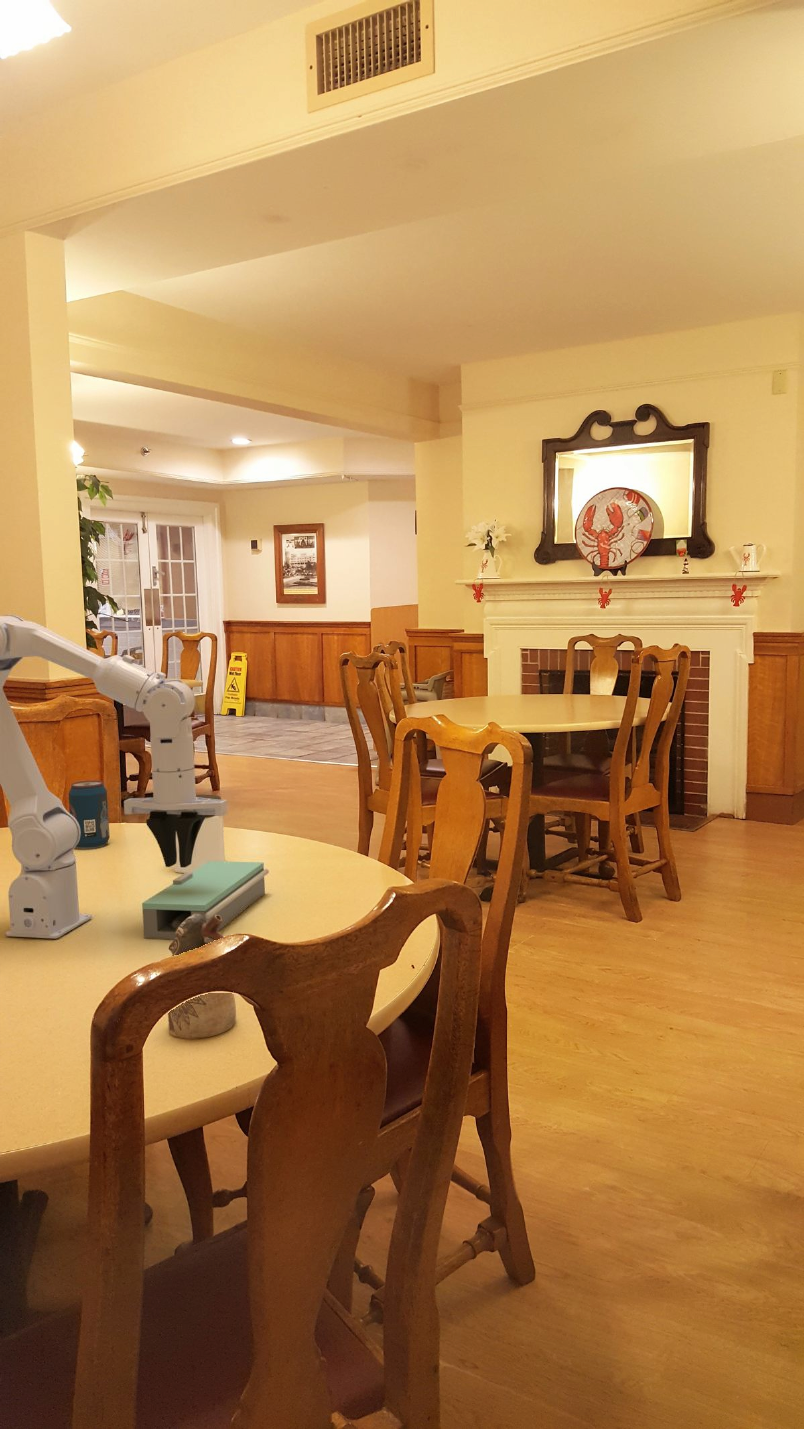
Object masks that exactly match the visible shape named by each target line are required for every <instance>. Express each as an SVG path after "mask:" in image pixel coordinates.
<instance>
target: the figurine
mask: <svg viewBox="0 0 804 1429" xmlns="http://www.w3.org/2000/svg"><path fill="white" fill-rule="evenodd" d="M221 922H222V919H221V917H220V916H219V915H215V916H214V917H213V918H212V919H211V920H210V921H209V922H208V923H207V922H206V920H205V918H204V917H203V916H202V915H201V914H194V915H192V916H190V917H188V918H187V919H186V920H185V921H184V922H183V923H182V924H181V925H180V926H179V927H178V928H177V930H176V933H175V939H174V940H173V941H172V942H170V944H169V946H168V950H169V951H170V953H171V957H172V956H174V955H179V954H181V953H183V952H187V951H189V950H193V949H195V948H199V947H201V946H203V945H205V944H208V943H210V942H213V941H214V940H218V939H220V938H224V939H225V937H224V935H223V934H222V933H221V932H220V931H217V929H218V927H219V926H220V924H221ZM167 1016H168V1020H167V1021H168V1031H169V1033H170V1036H173V1037H175V1038H180V1039H186V1040H191V1039H192V1040H193V1039H203V1038H209V1037H214V1036H218V1035H220V1034H223V1033H226V1031H229V1030H230V1029H232V1027H233V1026H234V1024H235V1022H236V1017H237V1006H236V998H235V993H234V994H232V993H208V994H205V995H200V996H198V997H195V998H193V999H190V1000H188V1001H186V1002H185V1003H182V1004H181V1005H179V1006H178V1007H176V1008H175V1009H173V1010H171V1011H170V1012H169V1013H168V1012H167Z"/></svg>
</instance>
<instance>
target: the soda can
mask: <svg viewBox="0 0 804 1429" xmlns="http://www.w3.org/2000/svg"><path fill="white" fill-rule="evenodd" d="M70 786H71V787H70V788H69V791H68V808H69V811H68V813H70V814H71V815H72V816H73V817H74V818H75V819H76V820H77V822H78V824H79V826H80V831H81V834H80V840H79V842H78V844H77V845H76V846H75V847H74V848H76V849H78V850H91V849H92V850H93V849H100V848H103V847H106V845H107V844H108V842H109V839H111V838H110V836H111V835H110V823H109V821H110V820H109V806H108V805H109V803H108V791H107V790H108V789H107V788H106V787H105V786H104V781H102V780H82V781H76V782H72V783H71V785H70Z"/></svg>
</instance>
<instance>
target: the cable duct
mask: <svg viewBox="0 0 804 1429" xmlns="http://www.w3.org/2000/svg"><path fill="white" fill-rule="evenodd" d="M264 868H265V867H264ZM264 868H263V869H261V870H260V871H258V872H257V873H256V874H254V875H253V876H252V877H250V878H249V879H248V880H246V881H245V882H244V883H242V884H241V885H240V886H238V887H237V888H236V889H234V890H233V891H231V892H230V893H229V894H227V895H226V896H225V897H223V898H222V899H221V900H219V901H218V902H217V903H215V904H214V905H213V906H211V907H210V908H209V909H207V910H206V911H187V910H159V909H142V922H143V923H142V924H143V938H144V939H154V940H155V939H158V940H159V939H160V940H173V941H174V939H175V933H176V930H177V928H178V927H179V926H180V925H181V924H182V923H183V922H184V921H185V920H186V919H187V918H188V917H190V916H192V915H194V914H201V915H202V916H203V917H204V918H205V920H206V922H207V923H208V922H209V921H210V920H211V919H212V918H213V917H214V916H215V915H219V916H220V917H221V919H222V922H221V924H220V926H219V927H218V929H217V931H218V932H220V931H221V930H222V929H224V928H225V927H226V926H227V925H228V924H230V923H231V922H232V921H233V920H234V919H236V918H237V917H238V916H239V915H240V914H242V913H243V912H244V911H246V910H247V909H248V908H249V907H251V904H252V905H253V904H254V903H255V902H257V901H258V900H259V899H260V898H262V896H264V895H265V894H266V890H265V888H266V886H265V884H266V883H265V876H267V875H268V874H269V873H270V870H269V869H268V868H265V869H264ZM248 906H249V907H248ZM247 907H248V908H247ZM246 908H247V909H246ZM243 910H244V911H243ZM241 912H242V913H241ZM238 914H239V915H238ZM236 916H237V917H236ZM235 917H236V918H235ZM231 920H232V921H231ZM230 921H231V922H230ZM224 926H225V927H224Z"/></svg>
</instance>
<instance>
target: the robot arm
mask: <svg viewBox="0 0 804 1429" xmlns="http://www.w3.org/2000/svg"><path fill="white" fill-rule="evenodd" d="M33 657H39V658H42V659H44V660H46V661H49V662H51V663H53V664H56V665H58V666H60V667H62V668H65V669H68V670H69V671H72V672H75V673H77V674H79V675H82V676H84V677H86V678H89V679H91V680H92V681H93V683H94V686H95V688H96V690H97V692H98V693H99V694H101V695H103V696H105V697H107V698H110V699H111V700H114V701H116V702H118V703H120V704H122V705H125V707H126V706H127V708H131V709H133V710H135V711H136V712H138V713H139V712H140V713H141V712H143V715H144V717H145V718H146V720H147V721H148V722H149V730H150V738H149V739H150V753H151V754H150V755H151V756H150V757H151V774H152V775H151V776H152V793H153V794H152V795H153V796H152V797H135V798H134V797H131V798H128V799H125V800H124V801H123V808H124V809H123V810H124V815H133V814H144V815H145V814H146V815H147V814H149V818H147V819H145V820H146V821H145V822H146V826H147V827H148V829H149V830H150V832H151V833H152V835H153V837H154V838H155V841H156V842H157V845H158V847H159V850H160V852H161V855H162V859H163V861H164V862H163V863H164V865H165V867H166V868H171V867H172V866H174V864H176V862H177V850H176V833H177V837H178V844H179V861H180V867H187V866H189V865H190V864H191V861H192V854H193V849H194V845H195V841H196V838H197V835H198V832H199V830H200V828H201V825H202V823H203V821H204V819H205V815H215V816H223V817H224V816H225V815H227V814H228V802H227V801H228V800H227V799H221V800H218V799H208V798H199V797H196V795H197V793H196V776H195V775H196V771H195V754H194V753H195V751H194V735H193V728H192V727H193V726H192V725H193V724H192V717H191V715H192V713H193V712H194V710H195V706H196V696H195V693H194V691H193V690H192V689H191V687H190V686H189V685H188V684H187V683H184V682H183V681H182V679H175V678H174V679H173V678H171V679H168V680H166V677H167V674H166V673H164V672H162V671H158V672H157V673H156V672H154V671H152V670H151V669H147V668H146V667H144V666H142V665H140V664H137V663H135V661H136V658H135V657H133V656H131V655H129V654H126V655H125V654H124V655H123V656H121V655H118V654H116V655H112V656H109V657H107V658H104V657H103V656H100V655H98V654H97V653H94V652H92V651H90V650H89V649H86V648H85V647H84V646H81V645H79V644H77V643H75V642H74V641H71V640H70V639H69V638H68V639H67V638H65V637H64V636H62V635H60V634H58V633H56V632H54V631H53V630H50V629H49V628H47V627H45V626H43V625H41V624H39V623H38V622H34V621H30V620H25V619H24V618H22V617H20V616H18V615H16V614H15V615H14V614H5V615H0V786H1V788H2V791H3V793H4V795H5V797H6V799H7V801H8V804H9V806H10V809H9V815H8V819H7V826H8V828H9V830H10V834H11V837H12V838H11V849H12V850H11V851H12V853H13V856H14V858H15V859H16V860H17V862H19V864H20V865H21V869H20V873H19V875H18V876H17V877H16V878H15V879H14V880H13V881H12V882H11V884H10V886H9V889H8V895H7V896H8V907H9V908H8V910H9V923H10V929H9V930H8V931H5V936H6V937H18V938H19V937H20V938H37V939H59V938H60V937H61V936H62V937H63V936H64V935H65V934H67V933H68V932H70V931H71V930H74V929H75V928H78V927H79V926H80V925H82V924H84V923H86V922H87V921H89V920H90V919H92V918H93V914H90V913H80V906H79V892H78V891H79V890H78V888H79V887H78V874H77V860H76V859H77V858H76V855H75V854H74V853H75V852H74V849H75V848H76V847H75V846H76V845H77V844H78V842H79V840H80V834H81V831H80V826H79V824H78V822H77V820H76V819H75V818H74V817H73V816H72V815H71V814H70V812H69V811H68V810H67V809H66V808H65V806H64V804H63V801H62V800H61V799H60V798H59V797H57V795H55V794H54V793H52V792H51V791H50V790H49V788H48V787H47V784H46V782H45V780H44V777H43V775H42V773H41V771H40V769H39V767H38V765H37V761H36V760H35V758H34V756H33V754H32V751H31V749H30V747H29V744H28V743H27V740H26V738H25V736H24V733H23V732H22V729H21V726H20V725H19V723H18V720H17V718H16V715H15V714H14V712H13V709H12V707H11V705H10V703H9V701H8V699H7V695H6V694H5V691H4V685H5V683H6V681H7V680H8V677H9V675H10V673H11V671H12V669H13V668H15V666H17V664H18V663H19V662H20V661H21V660H23V658H33ZM178 814H181V817H178Z"/></svg>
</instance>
